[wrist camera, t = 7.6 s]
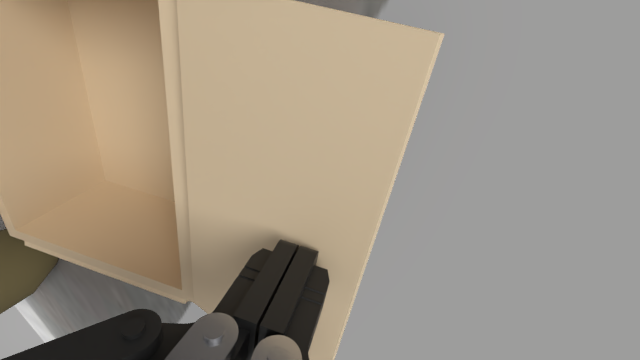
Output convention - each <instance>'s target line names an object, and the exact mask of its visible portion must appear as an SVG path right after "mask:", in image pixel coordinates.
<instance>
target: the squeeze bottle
mask: <svg viewBox="0 0 640 360" xmlns="http://www.w3.org/2000/svg"><path fill="white" fill-rule="evenodd" d="M57 261H58V257H55V256H53V255H50V254H47V253H44V252H42V251H39V250H36V249H34V248H31V247H28V246H25V242H24V241H23V240H21V239H18V238H15V237H12V236H10V235H9V233H8V230H7V229H5V230H1V231H0V314H1V313H2V312H4V311H6V310H7V309H9V308H10V307H12V306H14V305H15V304H17V303H18V302H20V301H22V300H23V299H25V298H26V297H28V296H29V295H31V294H33V293H34V292H35V291H36V289H37V288H38V287H39V286H40V284H41V283H42V282H43V280H44V279H45V278H46V276H47V275H48V274H49V273H50V271H51V270H52V269H53V267H54V266H55V265H56V263H57Z"/></svg>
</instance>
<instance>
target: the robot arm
mask: <svg viewBox="0 0 640 360" xmlns="http://www.w3.org/2000/svg"><path fill="white" fill-rule="evenodd" d="M318 254H319V251H316V250H313V249H310V248H307V247H304V246H300V247H299V245H297V244H294V243H291V242H288V241H285V240H282V239H280V240H279V242H278V243H277V245H276V246H275V248H274V250H273V251H270V250H267V249H264V248H262V249H261V250H259V251H258V252H256V253H255V254H253V255H252V256H251V257H250V259H249V260H248V262H247V263H246V265H245V266H244V268H243V269H242V270H241V272H240V273H239V275H238V277H237V278H236V279H235V281H234V282H233V284H232V285H231V286H230V288H229V289H228V291H227V292H226V294H225V295H224V297H223V298H222V300H221V301H220V303H219V304H218V305H217V307H216V308H215V310H214V311H213V312H212V313H210V314H207V315H205V316H203V317H201V318H200V319H198V320H197V321H196V322H194V323H190V324H173V323H161V319H160V317H159V315H158V314H157V313H155V312H154V311H151V310H148V309H137V310H132V311H129V312H127V313H124V314H121V315H119V316H116V317H113V318H111V319H108V320H105V321H103V322H100V323H97V324H95V325H92V326H89V327H87V328H84V329H81V330H79V331H76V332H73V333H71V334H68V335H65V336H63V337H60V338H57V339H55V340H52V341H49V342H47V343H44V344H41V345H39V346H36V347H34V348H31V349H28V350H25V351H23V352H20V353H17V354H15V355H12V356H9V357H7V358H4V359H1V360H309V356H308V352H309V349H310V346H311V343H312V339H313V336H314V333H315V330H316V327H317V324H318V321H319V318H320V315H321V312H322V308H323V305H324V301H325V297H326V293H327V290H328V286H329V282H330V281H329V275H328V269H325V268H322V267H319V266H316V263H317V259H318Z"/></svg>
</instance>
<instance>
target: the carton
mask: <svg viewBox="0 0 640 360" xmlns="http://www.w3.org/2000/svg"><path fill="white" fill-rule="evenodd" d="M0 214H1V217H2V219H3V221H4V224H5V226H6V228H7V230H8V233H9V235H10V236H12V237H15V238H18V239H21V240H23V241H24V242H25V246H28V247H31V248H34V249H36V250H39V251H42V252H44V253H47V254H50V255H53V256H55V257H58V258H61V259H64V260H66V261H69V262H72V263H74V264H77V265H80V266H83V267H85V268H88V269H91V270H94V271H96V272H99V273H102V274H104V275H107V276H110V277H113V278H115V279H118V280H121V281H124V282H126V283H129V284H132V285H134V286H137V287H140V288H143V289H145V290H148V291H151V292H153V293H156V294H159V295H162V296H164V297H167V298H170V299H173V300H175V301H178V302H181V303H183V304H185V303H186V302H188V301H191V302H193V303H194V296H193V279H192V261H191V244H190V226H189V208H188V191H187V173H186V156H185V138H184V121H183V103H182V86H181V68H180V50H179V33H178V15H177V0H0Z"/></svg>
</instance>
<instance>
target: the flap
mask: <svg viewBox="0 0 640 360" xmlns="http://www.w3.org/2000/svg"><path fill="white" fill-rule="evenodd" d="M177 15H178V33H179V50H180V68H181V86H182V103H183V121H184V138H185V156H186V173H187V191H188V208H189V226H190V244H191V261H192V279H193V296H194V303H195V304H196V305H198V306H199V307H200V308H201V309H202V310H204V311H205V312H206V313H207V314H210V313H212V312H213V311H214V310H215V308H216V307H217V305H218V304H219V303H220V301H221V300H222V298H223V297H224V295H225V294H226V292H227V291H228V289H229V288H230V286H231V285H232V284H233V282H234V281H235V279H236V278H237V277H238V275H239V273H240V272H241V270H242V269H243V268H244V266H245V265H246V263H247V262H248V260H249V259H250V257H251V256H252V255H253V254H255V253H256V252H258V251H259V250H261V249H262V248H264V249H267V250H270V251H273V250H274V248H275V246H276V245H277V243H278V242H279V240H280V239H282V240H285V241H288V242H291V243H294V244H297V245H299V247H300V246H304V247H307V248H310V249H313V250H316V251H319V254H318V259H317V263H316V266H319V267H322V268H325V269H328V275H329V281H330V282H329V286H328V290H327V293H326V297H325V301H324V305H323V308H322V312H321V315H320V318H319V321H318V324H317V327H316V330H315V333H314V336H313V339H312V343H311V346H310V349H309V352H308V356H309V360H334V359H335V356H336V353H337V350H338V347H339V344H340V341H341V338H342V335H343V332H344V329H345V326H346V323H347V320H348V318H349V315H350V312H351V309H352V306H353V303H354V300H355V297H356V294H357V291H358V288H359V285H360V282H361V279H362V276H363V273H364V270H365V267H366V264H367V261H368V259H369V255H370V253H371V250H372V247H373V244H374V241H375V238H376V235H377V232H378V229H379V226H380V223H381V220H382V217H383V214H384V211H385V208H386V205H387V202H388V199H389V197H390V193H391V191H392V188H393V185H394V182H395V179H396V176H397V173H398V170H399V167H400V164H401V161H402V158H403V155H404V152H405V149H406V146H407V143H408V140H409V137H410V134H411V131H412V129H413V125H414V122H415V120H416V117H417V114H418V111H419V108H420V105H421V102H422V99H423V96H424V93H425V90H426V87H427V84H428V81H429V78H430V75H431V72H432V70H433V67H434V64H435V60H436V57H437V55H438V52H439V49H440V46H441V43H442V40H443V37H444V34H443V33H438V32H434V31H429V30H425V29H420V28H416V27H411V26H406V25H403V24H398V23H394V22H389V21H385V20H380V19H376V18H371V17H367V16H362V15H358V14H353V13H349V12H344V11H340V10H335V9H331V8H326V7H322V6H317V5H313V4H308V3H304V2H299V1H295V0H177Z"/></svg>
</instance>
